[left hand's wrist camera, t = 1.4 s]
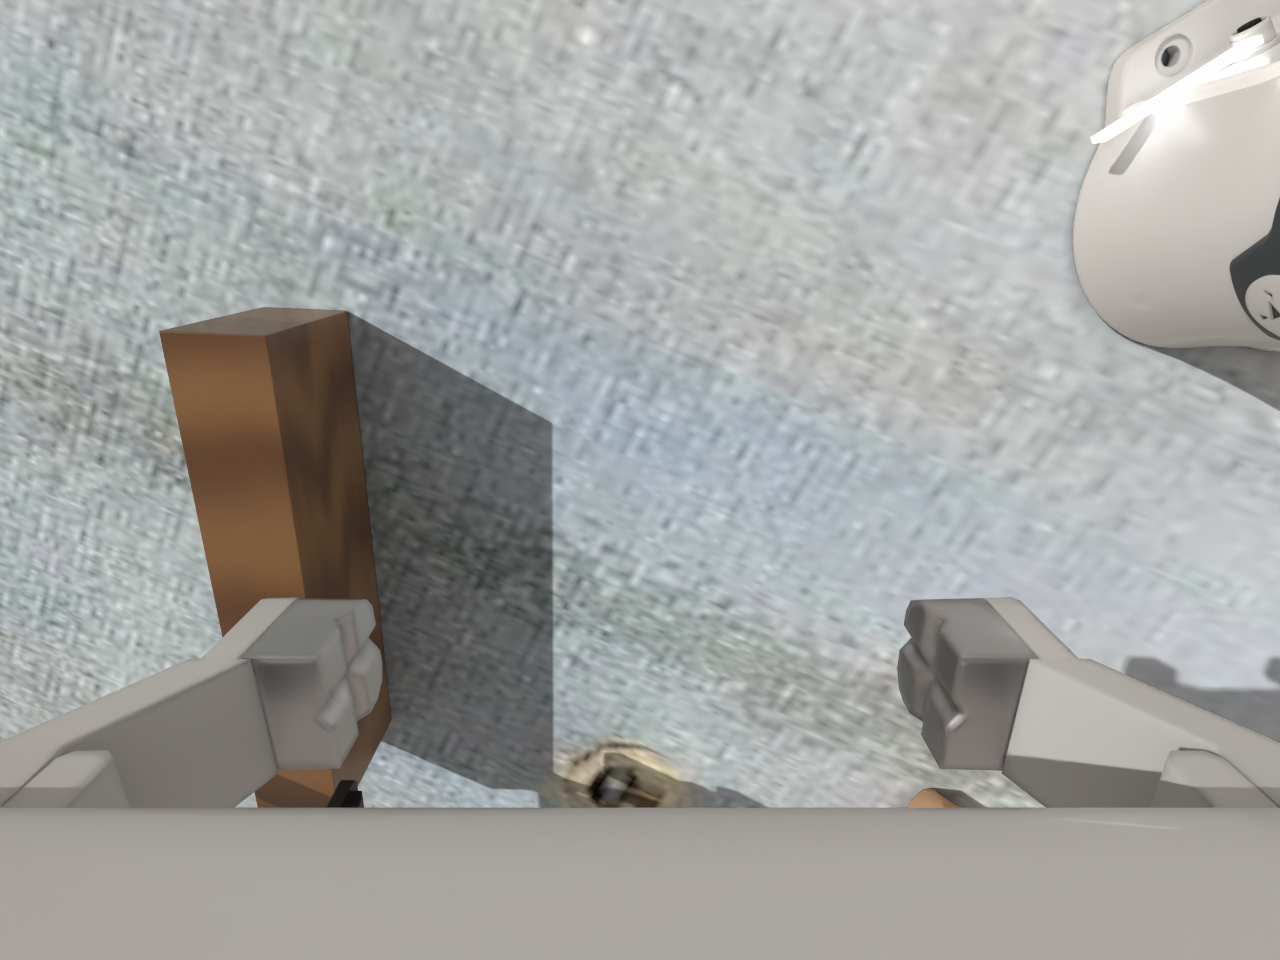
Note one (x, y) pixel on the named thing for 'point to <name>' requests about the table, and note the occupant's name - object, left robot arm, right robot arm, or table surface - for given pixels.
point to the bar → (279, 484)
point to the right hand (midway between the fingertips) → (272, 788)
